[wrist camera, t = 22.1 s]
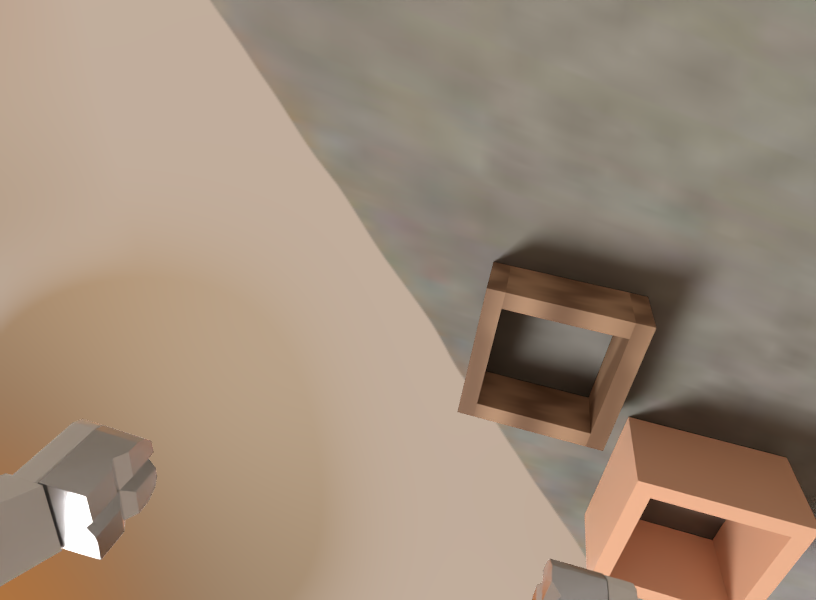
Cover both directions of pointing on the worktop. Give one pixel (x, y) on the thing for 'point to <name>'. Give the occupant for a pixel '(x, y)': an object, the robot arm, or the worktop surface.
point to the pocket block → (573, 307)
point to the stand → (704, 492)
